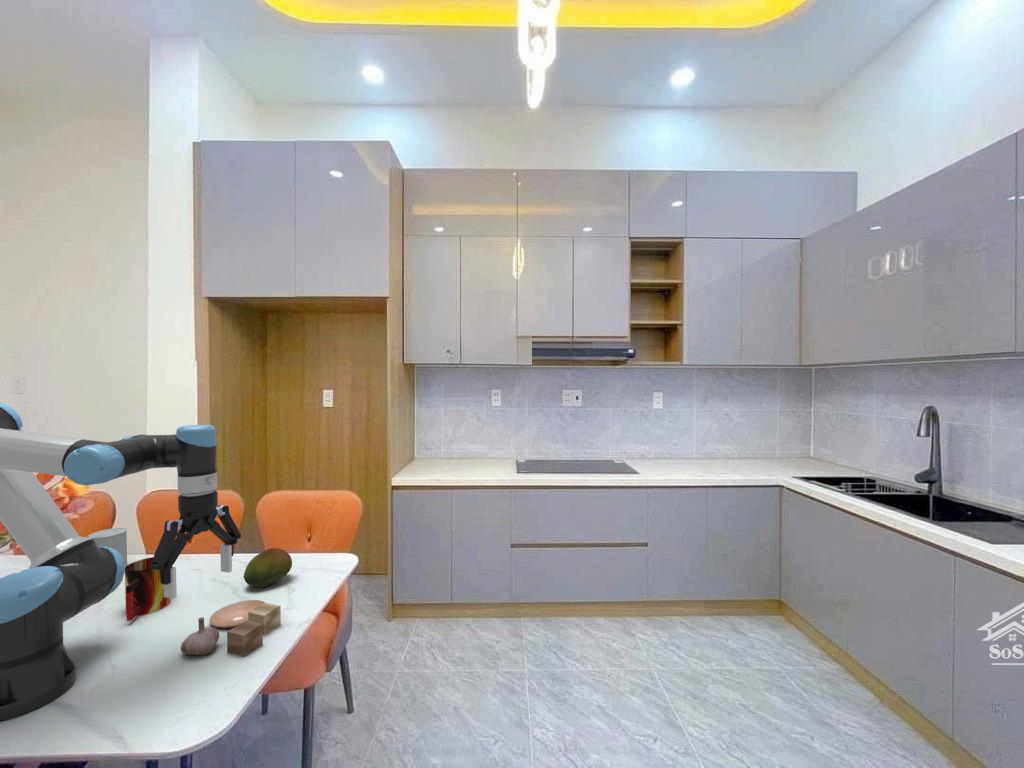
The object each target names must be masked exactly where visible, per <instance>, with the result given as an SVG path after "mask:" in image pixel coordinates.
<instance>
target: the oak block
mask: <svg viewBox="0 0 1024 768" xmlns="http://www.w3.org/2000/svg"><path fill="white" fill-rule="evenodd" d="M281 611H282V610H281V605H279V604H274V603H269V602H265V603H264V604H262V605H260V606H258V607H257V608H255V609H253V610H251V611H249V612H248V621H251V622H255V623H260V624H262V629H263V636H264V637H265V635H267V634H269V633H271V632H272V631H274V630H275V629H277V628H278V627H280V626H281V625H282V623H281V622H282V621H281V620H282V619H281V618H282V617H281V615H282V613H281Z"/></svg>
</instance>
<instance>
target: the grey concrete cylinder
mask: <svg viewBox="0 0 1024 768" xmlns="http://www.w3.org/2000/svg"><path fill="white" fill-rule="evenodd" d="M87 537H89V538H92V539H93V540H94V541H95V543H96V544H97V545H98V547H101V546H106V547H108V548H113V549H115V550H116V551H118V552H119V553H120V555H121V556H122V558H123V560H124V564H125V567H126V566H127V565H128V544H127V542H128V541H127V540H128V538H127V528H125V527H114V528H106V529H102V530H98V531H95V532H92V533H89V534H88V536H87Z"/></svg>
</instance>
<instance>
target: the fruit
mask: <svg viewBox="0 0 1024 768" xmlns="http://www.w3.org/2000/svg"><path fill="white" fill-rule="evenodd" d="M292 566H293V561H292V557H291V555H290V554H289V552H288V551H286V550H284V549H281V548H279V547H271V548H267V549H265V550H263V551H261V552H259V553H258V554H257V555H255V556H253V558H252V559H251V560H250V561H249V562H248V564H247V565H246V567H245V570H244V574H243V579H244V581H245V583H246V584H247V585H248V586H251V587H253V588H260V587H266V586H270V585H271V584H274V583H277V582H279V581H280V580H282V579H283V578H284V577H286V576H287V575H288V574H289V572H290V571H291V569H292Z"/></svg>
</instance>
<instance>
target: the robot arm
mask: <svg viewBox="0 0 1024 768" xmlns="http://www.w3.org/2000/svg"><path fill="white" fill-rule="evenodd" d="M21 428H23V421H22V418H21V417H20V415H19V414H18V412H17V411H16V410H15V409H14V408H13V407H11V406H9V405H8V404H6V403H3V402H0V522H1V523H2V524H3V526H4V527H5V529H6V530H7V532H8V533H9V534H10V535H11V537H12V538H13V539H14V540H15V542H16V543H17V544H18V546H19V547H20V549H21V550H22V551H23V553H24V554H25V556H26V557H27V558H28V560H29V561H30V565H29V567H28V568H27V569H23V570H21V571H19V572H13V573H10V574H8V575H5V576H3V577H0V722H2V721H5V720H9V719H13V718H15V717H19V716H22V715H24V714H27V713H29V712H31V711H33V710H36V709H39V708H40V707H43V706H45V705H46V704H48V703H50V702H52V701H54V700H55V699H57V698H59V697H60V696H62V695H63V694H64V693H65V692H66V691H69V690H70V688H71V687H72V686H73V685H74V683H75V682H76V679H77V668H76V665H75V662H74V661H73V659H72V657H71V655H70V653H69V651H68V650H67V648H66V646H65V644H64V643H65V642H64V623H65V622H67V621H68V620H70V619H71V618H73V617H75V616H77V615H78V614H80V613H82V612H83V611H85V610H88V608H91V607H92V606H94V605H97V604H99V603H100V602H101V601H103V600H104V599H106V598H107V597H108V596H110V594H112V593H113V592H115V591H116V590H117V589H118V587H119V586H120V585H121V584H122V582H123V578H124V576H125V564H124V560H123V558H122V556H121V555H120V553H119V552H118V551H116V550H115V549H113V548H108V547H106V546H101V547H98V545H97V544H96V543H95V541H94V540H93V539H92V538H89V537H88V536H81V535H79V533H78V532H77V531H76V529H75V528H74V527H73V525H72V524H71V522H70V521H69V520H68V518H67V517H66V515H65V514H64V513H63V512H62V510H61V509H60V508H59V506H58V505H57V504H56V502H55V501H54V499H53V498H52V497H51V495H50V493H49V492H48V491H47V490H46V489H45V486H43V484H42V483H41V481H40V480H39V479H38V478H37V476H36V475H35V474H36V473H38V474H46V475H54V476H60V477H63V476H64V477H67V478H68V479H69V480H70V481H72V482H74V483H75V484H77V485H80V486H92V485H99V484H101V485H102V484H104V483H108V482H110V481H112V480H115V479H119V478H122V477H125V476H128V475H133V474H136V473H141V472H144V471H147V470H151V469H160V468H161V469H164V468H176V470H177V494H179V496H178V497H177V503H178V505H177V506H178V507H177V508H178V512H179V514H180V515H179V519H176V520H166V521H165V522H164V529H163V533H162V536H161V538H160V540H159V543H158V545H157V547H156V550H155V552H154V554H153V559H152V561H151V564H150V569H155V570H160V582H161V584H164V597H166V598H171V600H172V599H176V598H177V595H178V593H177V567H175V566H174V565H175V563H176V561H177V559H178V558H179V557H180V555H181V553H182V552H183V550H184V548H185V547H186V545H187V544H188V542H189V541H190V540H191V539H193V537H194V535H195V536H196V535H199V534H201V533H202V532H208V531H210V532H211V533H212V534H213V535H214V536H216V537H217V538H218V539H219V540H220V541H221V542H223V543H221V544H220V548H219V549H220V551H219V553H220V572H222V573H223V572H224V573H231V572H233V563H232V562H233V557H234V553H235V552H234V548H235V547H234V545H237V543H238V540H239V539H241V537H242V534H241V532H240V531H239V528H238V526H237V525H236V523H235V521H234V520H233V518H232V516H231V514H230V513H231V512H230V506H229V505H223V504H220V505H218V504H219V501H218V496H219V495H218V493H219V492H218V491H217V488H218V470H217V468H218V467H217V446H218V441H217V433H216V427H215V426H214V425H211V424H191V425H190V424H189V425H181V426H178V428H177V429H176V432H175V434H137V435H127V436H124V437H122V438H121V440H114V441H99V440H98V441H97V440H93V439H92V440H91V439H84V438H76V437H69V436H63V435H62V436H61V435H54V434H48V433H47V434H46V433H38V432H30V431H23V429H21ZM216 518H218V520H219V521H220V522H221V524H222V526H223V527H222V526H221V524H220V523H219V522H218V521H217V520H216Z"/></svg>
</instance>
